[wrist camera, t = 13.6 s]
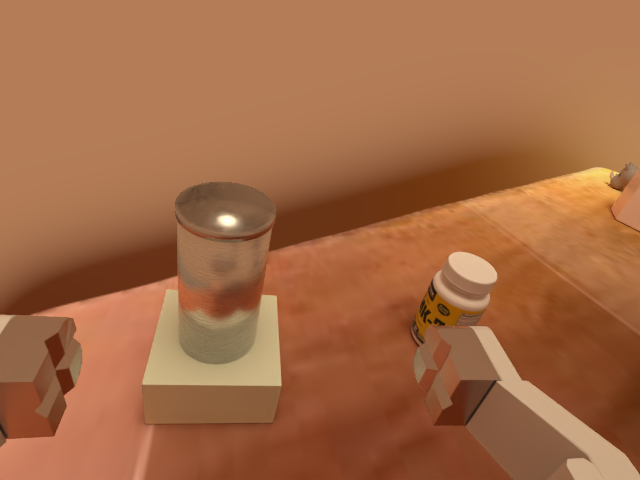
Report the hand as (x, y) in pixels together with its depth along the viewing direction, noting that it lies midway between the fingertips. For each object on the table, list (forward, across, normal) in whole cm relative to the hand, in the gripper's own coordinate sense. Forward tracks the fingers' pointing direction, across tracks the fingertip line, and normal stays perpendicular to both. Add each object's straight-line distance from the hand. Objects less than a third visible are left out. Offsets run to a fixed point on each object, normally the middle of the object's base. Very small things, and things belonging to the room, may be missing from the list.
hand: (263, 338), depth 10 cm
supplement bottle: (+16, -17, +19) cm, 30 cm away
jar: (+44, -66, +21) cm, 82 cm away
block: (+12, +2, +18) cm, 22 cm away
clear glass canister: (+12, +2, +14) cm, 19 cm away
